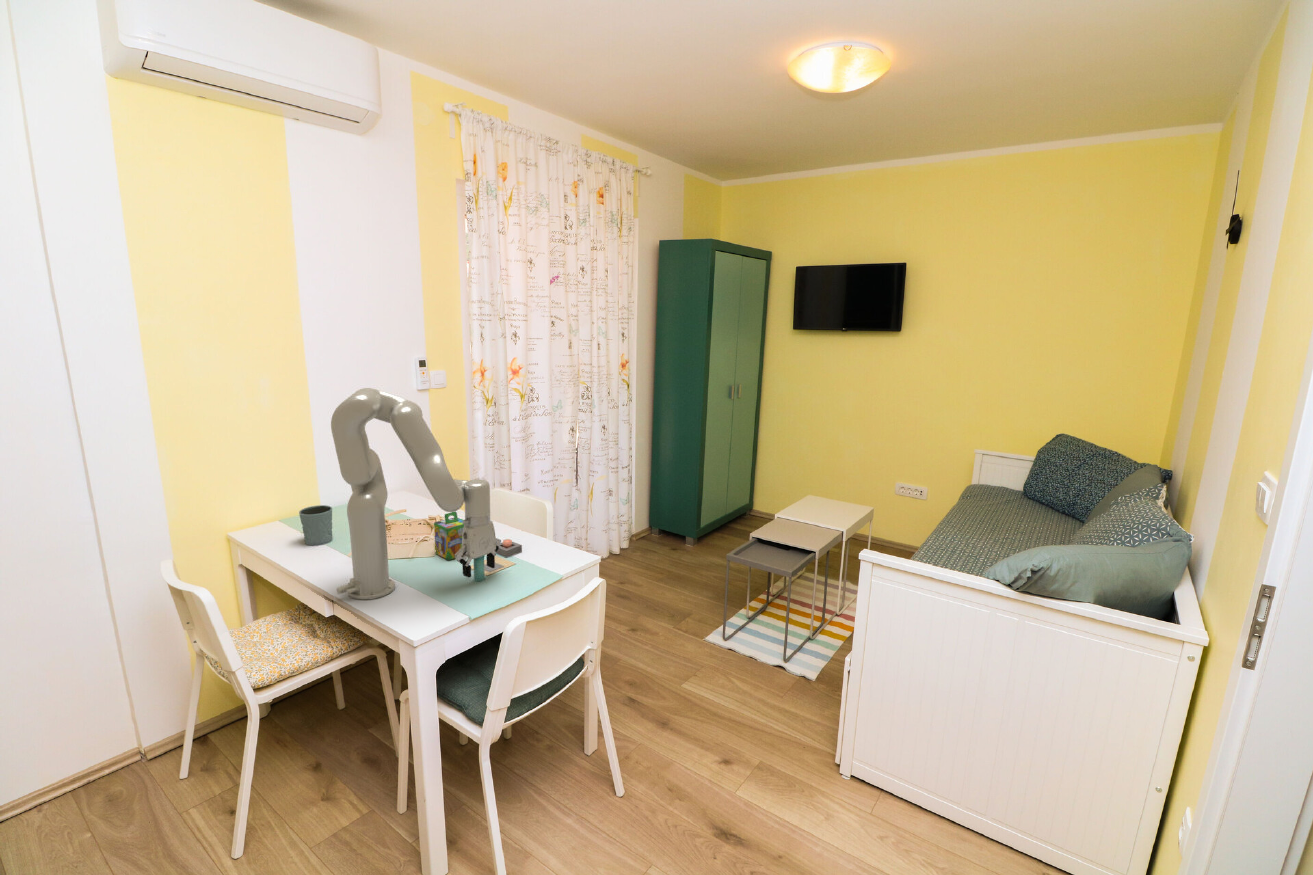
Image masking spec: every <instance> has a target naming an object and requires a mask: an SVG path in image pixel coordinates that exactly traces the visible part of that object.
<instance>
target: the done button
mask: <svg viewBox="0 0 1313 875" xmlns="http://www.w3.org/2000/svg"><path fill="white" fill-rule="evenodd" d="M502 542H503V547H504V548H510V547H512V542H513V540H512V539H509V538H508V539H503V540H502Z"/></svg>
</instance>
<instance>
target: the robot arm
mask: <svg viewBox="0 0 1313 875" xmlns="http://www.w3.org/2000/svg"><path fill="white" fill-rule="evenodd" d="M330 419H331V421H330V427H331V428H330V429H331V434H332V435H331V436H332V438H333V443H334V448H335V453H336V457H337V461H338V466H339V470H340V471H339V472H340V474H341V478H342V479H343V481H344V482H345V483H346V484H348V485H349V486H350V487H351V492H352V494H351V496H350V497H349V499H348V501H347V507H346V514H347V515H346V516H347V520H348V528H349V535H350V548H351V561H352V574H353V576H352V578H350V579H349V582H348V583H346V585H341V586H339V587H337V588H336V592H337V594H338V595H340V594H344V593H346V595H348V596H350V597H351V598H352V599H355V600H373V599H379V598H381V597H384V596H386V595H388V594H390V593H392V592H393V591H394V590H395V588H396V583H395V581H394V580H393V579H392V578H390V572H389V569H390V568H389V555H388V554H389V553H388V539H387V525H386V518H385V517H386V515H385V511H386V510H385V508H386V504H387V501H388V488H387V484H386V479H385V476H384V471H383V468H382V463H381V459H380V457H379V455H378V454H377V452H376V451H375V450H374V449H372V448H371V447H370V445H369V444H370V443H369V439H368V435H367V434H368V433H367V431H366V425H367V423H368V422H370V421H372V420H374V419H376V420H379V421H382V422H385V423H388V424H390V425H391V427H392V429H393V431H394V433H395V434H396V436H397V437H398V439H399V440H400V442H401V444H402V445H403V447H404V448H405V451H406V452H407V453H408V455H409V457H410V458H411V460H412V462H413V464H414V466H415V468H416V470H417V472H418V473H419V476H421V480H423V483H424V485H425V487H426V489H427V490H428V491H429V493H430V495H431V497H432V498H433V500H434V501H435V503H436V504H437V506H438V507H439V508H440V509H441V510H442V511H444V512H446V513H451V512H455V511H456V512H457V511H458V510H460V509H461V508H462V507H463V505H464V519H463V521H462V522H463V524H465V525H464V528H463V534H462V547H461V548H460V550H459V551H458V552H457V553H456V554H455V555H454V557H455V559H456V560H457V562H458V563H459V564H461V565H462V567H461V568H462V575H463V576H464V577H466V578H469V579H470V578H471V577H472V569H471V562H472V560H474V559H475V558H478V557H481V556H484V557H485V556H486V560H487V566H488V567H491V568H495V556H497V554H496V552H497V550H498V549H499V545H500V543H502V539H500V538H497V537H496V530H495V526H494V523H493V521H492V520H491V487H490V483H489V481H487V480H485V479H481V478H479V479H471V480H468V479H467V480H465V479H464V480H463V479H458V478H457V479H456V478H455V479H454V478H453V477H452V475H451V473H450V471H449V468H448V466H447V463H446V460H445V457H444V453H443V450H442V448H441V445H440V444H439V442H438V440H437V439H436V438H435V436H434V434H433V433H432V431H431V429H430V428H429V426H428V424H427V422H426V421H425V420H424V417H423V411H422V409H421V407H420V406H419V405H418V404H417V403H416V402H413V401H411V400H408V399H405V398H403V397H401V396H400V397H399V396H397V395H394V394H391V393H387V392H384V391H382V390H379V389H376V388H371V387H363V388H360V389H358V390H356V391H355V392H354V393H352V394H351V395H350V396H348V397H346V399H345V400H343V401H342V402H341V403H339V404H338V406H337V407H336V408H335V410H334V411H333V413H332V416H331V418H330ZM462 554H463V555H464V556H462ZM461 556H462V557H461Z"/></svg>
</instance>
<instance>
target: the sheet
mask: <svg viewBox="0 0 1313 875" xmlns="http://www.w3.org/2000/svg"><path fill="white" fill-rule="evenodd" d="M515 565H516V562H512V561H511V560H507V558H504V557H501V556H499V555H498V556H497V555H496V556H495V568H491V567H488V566H487V559H484V573H485V577H486V576H487V577H488V576H491V575H494V574H495V573H498V572H500V571H502V570H505V569H507V568H509V567H513V566H515ZM470 566H471V571H474V564H470Z"/></svg>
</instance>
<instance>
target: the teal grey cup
mask: <svg viewBox="0 0 1313 875" xmlns="http://www.w3.org/2000/svg"><path fill="white" fill-rule="evenodd" d="M298 514H299V518H300V523H301V525H302V527H301V528H302V532H303V537H304V543H305V544H306V546H312V547H316V546H317V547H318V546H323V545H326V544H329V543H331V542H332V541H333V507H332V506H330V505H328V504H327V505H326V504H325V505H321V504H319V505H312V506H307V507H304V508H302V509H300V510H299V512H298Z"/></svg>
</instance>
